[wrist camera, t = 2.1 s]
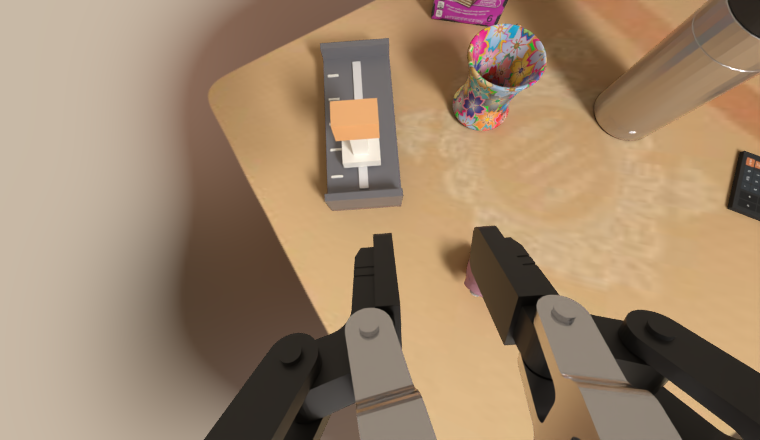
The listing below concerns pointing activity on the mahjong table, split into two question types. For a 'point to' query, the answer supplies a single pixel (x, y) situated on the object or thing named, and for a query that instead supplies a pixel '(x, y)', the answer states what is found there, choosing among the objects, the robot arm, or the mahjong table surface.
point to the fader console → (373, 80)
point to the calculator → (746, 186)
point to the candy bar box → (469, 11)
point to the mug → (497, 74)
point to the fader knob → (357, 131)
